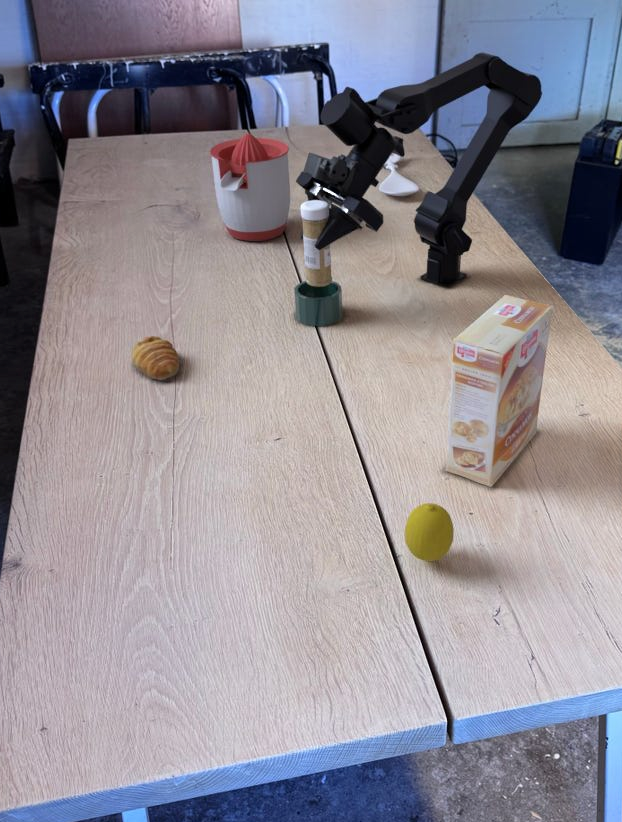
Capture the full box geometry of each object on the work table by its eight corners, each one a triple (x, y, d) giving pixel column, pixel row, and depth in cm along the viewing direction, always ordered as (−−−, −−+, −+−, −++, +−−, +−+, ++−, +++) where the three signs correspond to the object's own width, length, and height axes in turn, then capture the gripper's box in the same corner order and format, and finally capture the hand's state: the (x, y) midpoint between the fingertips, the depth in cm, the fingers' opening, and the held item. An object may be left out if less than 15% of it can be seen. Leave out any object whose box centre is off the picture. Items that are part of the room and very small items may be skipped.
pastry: (190, 375, 136) (187, 353, 134) (149, 387, 133) (145, 365, 131) (169, 350, 142) (165, 329, 140) (129, 362, 140) (124, 340, 137)
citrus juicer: (200, 243, 179) (187, 142, 166) (241, 214, 191) (232, 119, 179) (269, 254, 174) (260, 151, 162) (306, 224, 187) (301, 126, 174)
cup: (317, 301, 157) (316, 275, 154) (351, 313, 152) (350, 287, 149) (286, 317, 152) (284, 290, 149) (321, 330, 148) (319, 303, 145)
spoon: (400, 159, 222) (400, 144, 220) (422, 202, 197) (422, 186, 194) (365, 160, 221) (365, 146, 219) (382, 204, 196) (382, 188, 194)
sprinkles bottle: (337, 283, 148) (334, 205, 140) (314, 290, 146) (309, 211, 138) (323, 274, 151) (319, 197, 143) (300, 280, 149) (295, 202, 141)
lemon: (401, 545, 104) (402, 491, 99) (447, 542, 104) (451, 489, 99) (407, 577, 99) (408, 523, 95) (455, 573, 100) (459, 519, 95)
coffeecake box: (492, 488, 112) (505, 354, 100) (443, 471, 115) (450, 339, 104) (538, 433, 122) (555, 304, 111) (492, 418, 125) (503, 292, 114)
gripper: (302, 119, 142) (248, 201, 144) (366, 147, 129) (306, 236, 131) (344, 159, 150) (293, 236, 152) (408, 189, 138) (352, 272, 139)
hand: (309, 244), depth 143 cm, fingers closed on sprinkles bottle, 4 cm apart
